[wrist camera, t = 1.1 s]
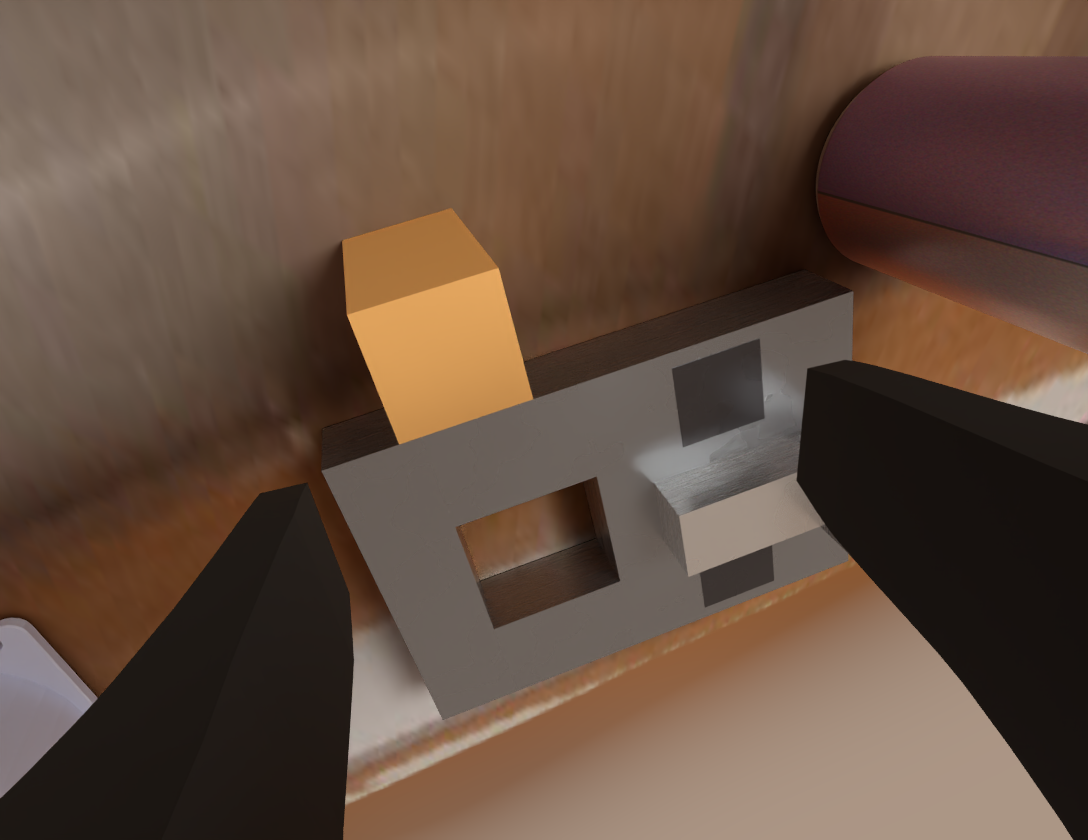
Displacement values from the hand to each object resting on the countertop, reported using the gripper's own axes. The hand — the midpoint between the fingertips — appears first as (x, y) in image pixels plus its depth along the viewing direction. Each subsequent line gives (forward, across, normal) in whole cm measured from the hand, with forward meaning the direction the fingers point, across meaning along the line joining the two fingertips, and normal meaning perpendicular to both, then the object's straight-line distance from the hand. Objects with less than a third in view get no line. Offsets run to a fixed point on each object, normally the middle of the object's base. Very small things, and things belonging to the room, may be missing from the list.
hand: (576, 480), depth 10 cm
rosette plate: (+11, -3, +9) cm, 14 cm away
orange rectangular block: (+11, +2, 0) cm, 11 cm away
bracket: (+9, -7, +8) cm, 14 cm away
